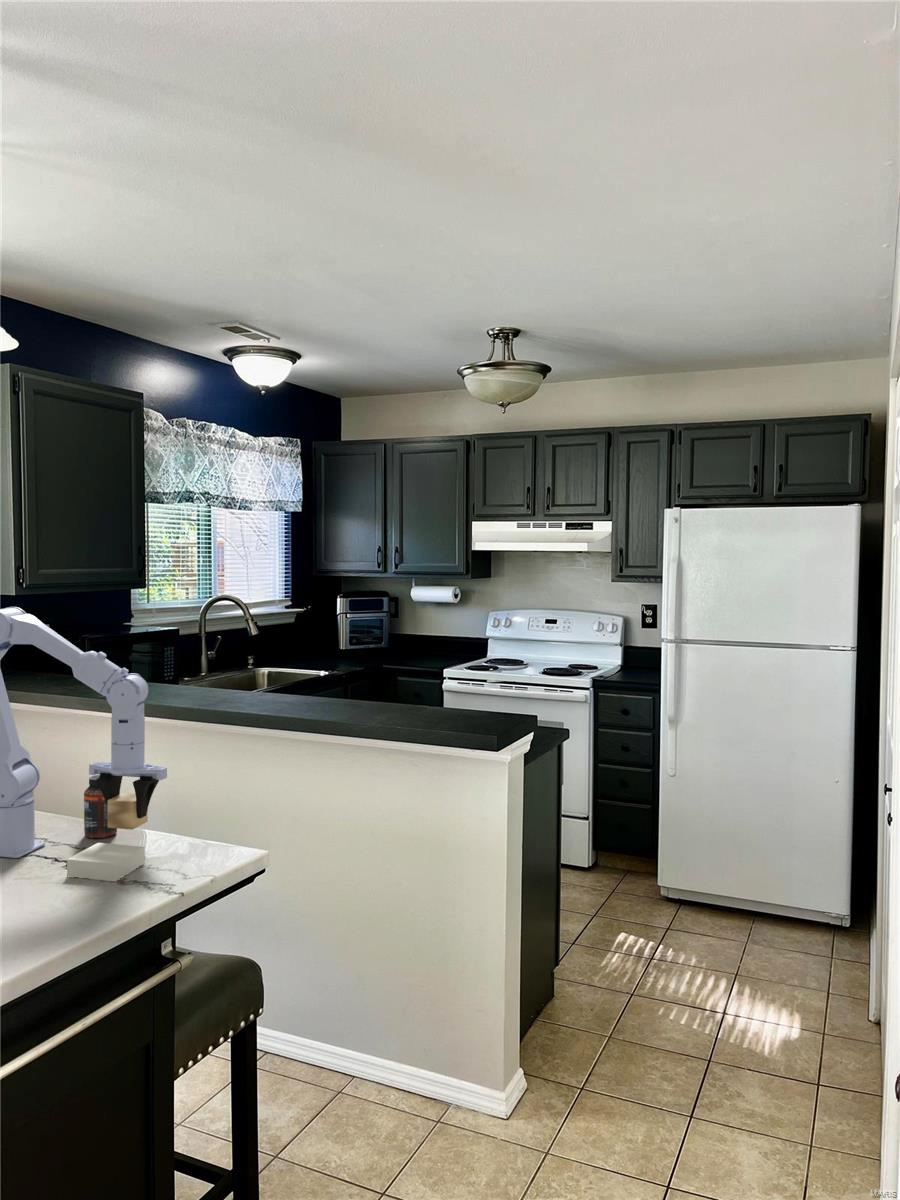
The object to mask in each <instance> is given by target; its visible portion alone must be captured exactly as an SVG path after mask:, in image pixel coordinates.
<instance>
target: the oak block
mask: <svg viewBox="0 0 900 1200" xmlns="http://www.w3.org/2000/svg"><path fill="white" fill-rule="evenodd" d="M148 810H149V809H148ZM148 810H147V814H146V816H144V817H143V818H137V813H136V794H135V793H128V792H127V793H126V792H122V793H120V795H118V796H115V797H113V798H111V799H109V800H108V828H117V829H120V830H121V829H122V830H132V831H133V830H134V829H137V828H138V827H140V826H142V825H145V824H146V823H148V822H149V821H148V819H149V817H148V816H149V815H148V813H149V812H148Z"/></svg>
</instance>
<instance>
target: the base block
mask: <svg viewBox="0 0 900 1200" xmlns="http://www.w3.org/2000/svg"><path fill="white" fill-rule="evenodd" d="M145 850H146V849H145V846H139V845H131V844H130V845H126V844H118V843H116V844H115V843H108V842H107V843H104V842H96V843H95V844H93V845H91V846H90V847H87V848H85V849H83V850H81V851H80V852H78V853H76V854H75V855H72V856H71V857H69V858H67V859H66V877H67V876H69V877H68V878H73V877H79V878H78V879H83V878H89V879H88V880H95V881H106V882H114V883H115V882H117V880H118V881H119V880H121V879H122V878H124V877H125V875H126V876H127V875H129V874H130V873H132V872H134V871H135V870H137V869H138V868H140V867H141V865H142V866H143V865H145V857H146V856H145ZM139 866H140V867H139ZM136 868H137V869H136ZM120 878H121V879H120Z"/></svg>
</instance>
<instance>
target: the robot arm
mask: <svg viewBox="0 0 900 1200" xmlns="http://www.w3.org/2000/svg"><path fill="white" fill-rule="evenodd" d="M14 645H33V646H34V647H36V648H38V649H39V650H41V651H43V652H45V653H46V654H49V655H50V656H52V657H53V658H55V659H57V660H58V661H61V662H62V663H64V664H66V665H67V666H69V667H70V668H71V671H72V674H73V677H74V678H75V679H76V680H78V681H79V682H81V683H83V684H84V685H86V686H87V687H89V688H90V689H92V690H94V691H96V692H97V693H98V694H100V695H102V696H103V697H105V698H106V700H107V701H106V702H107V703H108V704H109V706H110V707H111V718H110V719H111V720H110V721H111V724H110V725H111V729H110V730H111V735H110V738H111V739H110V744H111V745H110V746H111V747H110V750H111V752H110V753H111V755H110V756H111V757H110V759H111V760H110V762H108V761H107V762H102V761H101V762H99V761H94V762H92V763H89V764H88V775H90V776H95V775H100V776H99V778H98V779H96V784H97V785H98V787H99V789H100V790H101V792H102V794H103V796H104V799H105V801H106V805H107V808H108V800H109V799H111V798H113V797H115V796H118V795H120V794H121V787H122V780H123V777H129V778H130V777H131V778H139V779H136V780H134V781H132V785H133V789H134V792H135V793H134V794H136V813H137V818H143V817H144V816H146V814H147V810H149V805H150V802H151V798H152V796H153V795H154V791H155V789H156V787H157V785H158V784H159V782H160V781H163V780H165V779H167V778H168V767H167V766H161V765H154V764H151V763H150V764H148V763H145V745H146V744H145V739H146V737H145V736H146V735H145V729H146V728H145V727H146V726H145V725H146V722H145V720H146V717H145V702H144V701H145V700H146V699H147V698H148V694H149V685H148V683H147V681H146V680H145V678H143V677H142V676H141V675H140V674H139V673H135V672H134V673H132V672H131V673H129V669H127V668H126V667H122V668H121V667H119V666H118V665H117V664H115V662H114V663H113V662H112V661H110V660H109V659H107V654H106V653H105V652H103V651H99V652H97V651H94V650H90V651H85V652H84V651H83V650H81V649H80V648H79V647H77V646H76V645H74V643H73V644H72V643H71V642H70V641H69V640H68V639H66V638H64V637H63V636H62V635H60V634H58V632H56V631H55V630H53V629H52V628H50V627H49V626H48V625H46V624H45V623H44V622H42V621H41V620H40V619H38V617H36V616H35V615H33V614H31V613H27V612H26V611H25V610H23V609H22V608H20V607H17V606H9V607H5V608H0V661H1V660H2V658H3V657H4V656H5V655H6V654H7V652H8V650H9V649H10V648H11V647H12V646H14ZM11 707H12V706H11V703H10V700H9V696H8V692H7V688H6V683H5V682H4V677H3V673H2V669H1V668H0V857H3V858H13V859H19V858H20V857H23V856H25V855H28V854H29V853H31V852H34V851H35V850H38V849H40V848H42V847H43V846H45V845H46V842H45V841H38V840H36V837H35V836H36V835H35V834H36V833H35V831H36V828H35V827H36V826H35V823H36V821H35V820H36V819H35V815H36V814H35V813H36V812H35V803H36V801H35V799H36V798H35V794H34V790H35V789H36V788H37V787H38V785H39V783H40V780H41V774H40V771H39V768H38V766H37V765H36V764H35V763H34V762H33V761H32V758H31V755H30V753H29V751H28V750H27V749H26V748H25V747H23V746H22V745H21V742H20V739H19V738H20V737H19V734H18V731H17V725H16V723H15V718H14V716H13V711H12V708H11Z"/></svg>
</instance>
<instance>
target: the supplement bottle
mask: <svg viewBox="0 0 900 1200" xmlns="http://www.w3.org/2000/svg"><path fill="white" fill-rule="evenodd" d="M99 776H100V774H95V775H91V776H90V777H89V778H88V785H89V786H88V787H87V788H86V789H85V790H84V792H83V819H84V820H83V824H84V827H83V829H84V836H85V837H87V838H88V837H89V839H93V838H98V839H106V838H110V837H112V836H114V835H116V834H117V832H118V828H108V808H107V805H106V801H105V799H104V796H103V794H102V792H101V790H100V789H99V787H98V785H97V784H96V779H98V778H99Z"/></svg>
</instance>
